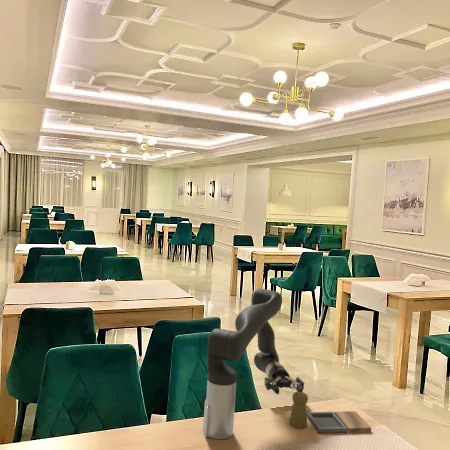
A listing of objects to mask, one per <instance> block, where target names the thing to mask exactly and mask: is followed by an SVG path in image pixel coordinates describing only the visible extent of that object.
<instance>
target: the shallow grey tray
mask: <svg viewBox="0 0 450 450" xmlns="http://www.w3.org/2000/svg"><path fill="white" fill-rule="evenodd" d="M334 412H335V411H308V412H307V411H306V416H307V420H308V421H309V422H310V424H311V425H312V426H313V428H314V429H315V430H316V432H317V433H318V434H345V433H348V431H347V427H346V426H345V425H344V424H343V423H342V421H341V420H340V419H339V418H338V417H337V416H336V414H335V413H334Z"/></svg>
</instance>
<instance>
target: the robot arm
mask: <svg viewBox="0 0 450 450" xmlns="http://www.w3.org/2000/svg"><path fill="white" fill-rule="evenodd" d="M282 303H283V297H282V294H280V293H279V292H277V291H275V290H270V289H265V288H257V289H255V291H254V293H253V295H252V300H251V305H249V306H247V307H245V308H244V309H243V310H242V311H240V312H239V313H238V314H237V316H236V318H235V322H234V324H235V325H234V327H235V330H236V331H234V330H228V329H223V328H214V329H212V330H211V331H210V333H209V337H208V339H207V351H206V352H207V357H206V358H207V363H206V364H207V365H206V370H207V371H206V372H207V385H206V398H205V400H204V411H203V424H202V425H203V427H202V428H203V433H204V436H205V437H206V438H210V439H215V440H224V439H229V438H230V437H232V436H233V435H234V420H235V408H236V407H235V405H236V393H237V380H238V378H237V377H238V376H237V372H236V370H235V369H234V368H232V367H231V366H230V365H229V364H227V363H226V362H225V361H228V362H236V361H238V360H240V358H242V356H243V355H244V353H245V352H246V349H248V346H249V344H250V343H251V341H252V340H253V339H254V338H255V336H256V335H257V348H258V350H259V352H257V353H256V354H255V355H254V358H253V363H254V365H255V367H256V368H257V369H258V370H259V371H260V372H263V373H264V374H266V377H264V383H263V385H264V387H265V389H266V390H267V391H270V390H271V391H272V392H274V394H276V395H279V394H280V389H282V388H286V389H290V390H296V392H303V390H304V389H305V388H304V387H305V382H304V381H303V379H301V378H300V377H298V376H297V377H296V378H295V379H294V378H293V377H291V376H290V374H289V372H288V371H287V369H286V368H285V367H284V366H283V364H281V363H280V358H279V354H278V352H277V349H276V345H275V344H276V342H275V340H276V339H275V331H274V328H273V327H272V325H271V324H270V322H269V320H270V319H272V318H274V317H275V316H276V315H277V313H278V312H279V311H280V309H281V307H282ZM303 393H304V392H303Z"/></svg>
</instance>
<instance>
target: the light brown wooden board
mask: <svg viewBox="0 0 450 450" xmlns="http://www.w3.org/2000/svg"><path fill="white" fill-rule="evenodd" d="M333 412H334V413H335V414H336V416H337V417H338V418H339V419H340V420H341V421H342V423H343V424H344V425H345V426H346V427H347V433H349V434H350V433H351V434H352V433H371V432H372V427H371V426H370V425H369V424H368V423H367V422H366V421H365V419H363V418H362V417H361V415H359V413H358V412H357V411H333Z"/></svg>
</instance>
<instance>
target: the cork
mask: <svg viewBox="0 0 450 450" xmlns="http://www.w3.org/2000/svg"><path fill="white" fill-rule="evenodd" d="M308 400H309V397H308V394H307V393H305V392H297V391H295V392H293V394H292V402H293V403H292V408H291V413H290V418H289V422H288V425H289V426H290V428H293V429H296V430H305V429H307V427H308V418H307V416H306V412H307V403H308V402H309V401H308Z"/></svg>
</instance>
